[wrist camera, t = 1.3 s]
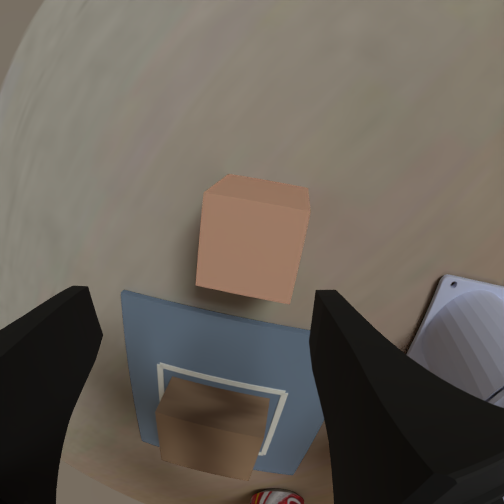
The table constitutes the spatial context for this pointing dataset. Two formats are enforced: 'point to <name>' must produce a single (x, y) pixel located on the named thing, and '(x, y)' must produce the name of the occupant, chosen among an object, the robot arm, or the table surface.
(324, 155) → the table surface
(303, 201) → the terracotta block
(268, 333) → the blueprint board
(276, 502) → the soda can
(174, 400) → the walnut base block
